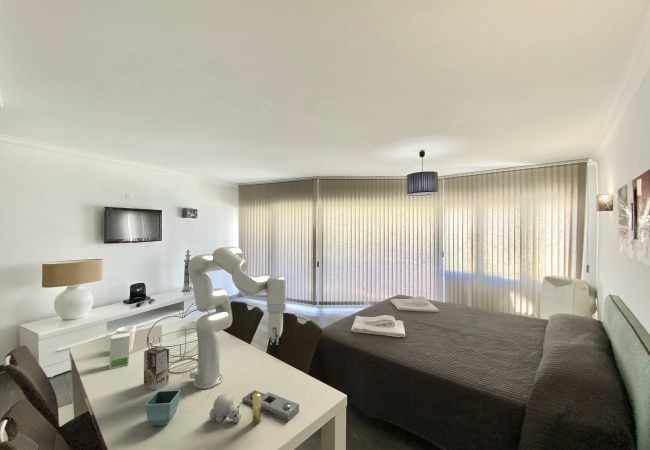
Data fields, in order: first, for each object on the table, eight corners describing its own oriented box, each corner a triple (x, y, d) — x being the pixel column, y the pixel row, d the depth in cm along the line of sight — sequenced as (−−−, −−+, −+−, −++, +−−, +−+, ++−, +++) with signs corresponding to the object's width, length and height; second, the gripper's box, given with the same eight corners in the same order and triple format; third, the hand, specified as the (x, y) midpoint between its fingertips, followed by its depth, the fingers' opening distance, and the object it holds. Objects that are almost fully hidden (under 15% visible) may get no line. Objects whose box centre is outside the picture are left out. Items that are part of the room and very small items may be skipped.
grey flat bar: (242, 401, 113) (242, 393, 113) (254, 393, 119) (254, 385, 119) (287, 422, 100) (287, 412, 101) (299, 411, 106) (299, 402, 107)
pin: (251, 424, 99) (251, 396, 99) (253, 419, 102) (253, 392, 102) (259, 424, 99) (259, 397, 99) (261, 419, 102) (261, 392, 102)
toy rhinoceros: (229, 436, 97) (237, 416, 96) (205, 416, 101) (212, 396, 100) (242, 422, 104) (249, 403, 103) (219, 404, 108) (225, 386, 107)
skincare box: (109, 369, 139) (110, 339, 140) (109, 364, 145) (110, 335, 145) (129, 364, 145) (130, 335, 145) (128, 360, 150) (129, 331, 150)
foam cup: (137, 350, 163) (137, 328, 164) (118, 355, 156) (118, 332, 157) (132, 345, 169) (133, 324, 170) (114, 350, 162) (115, 328, 163)
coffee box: (169, 383, 126) (169, 348, 127) (155, 391, 120) (156, 354, 121) (156, 379, 130) (157, 345, 131) (142, 386, 124) (143, 350, 125)
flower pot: (157, 414, 105) (157, 390, 105) (180, 412, 106) (181, 389, 106) (143, 430, 96) (144, 404, 97) (169, 429, 97) (170, 403, 97)
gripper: (270, 302, 120) (270, 341, 119) (262, 313, 102) (263, 359, 102) (287, 301, 120) (288, 341, 119) (282, 312, 103) (283, 358, 102)
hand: (276, 349), depth 111 cm, fingers open, 9 cm apart
